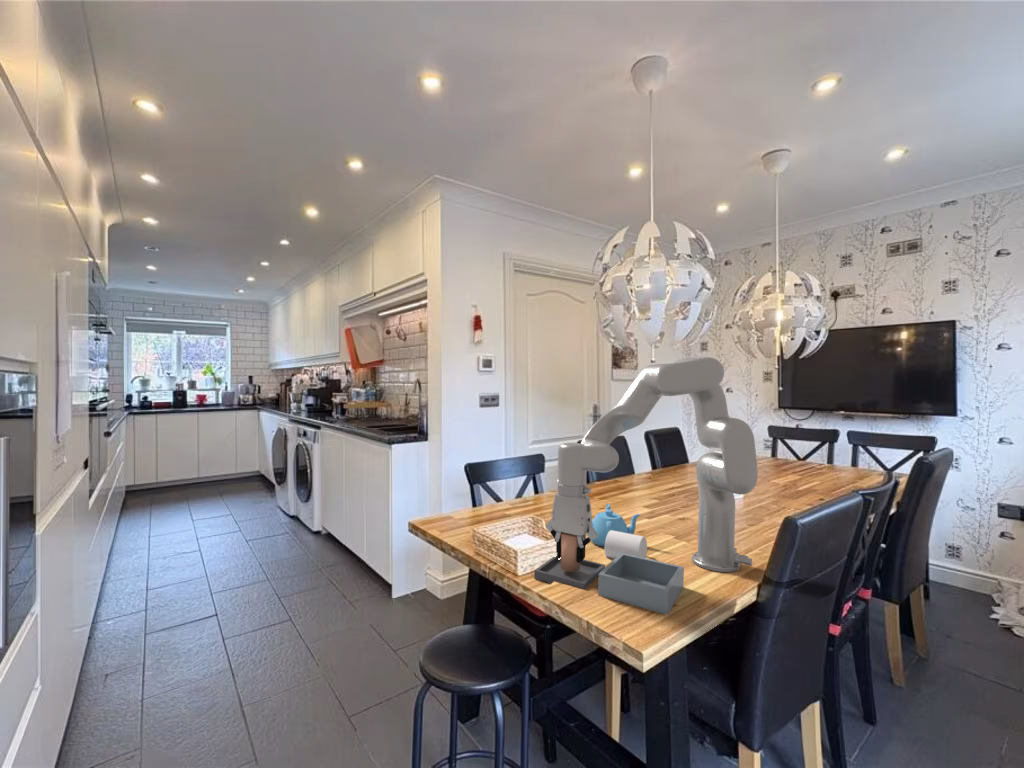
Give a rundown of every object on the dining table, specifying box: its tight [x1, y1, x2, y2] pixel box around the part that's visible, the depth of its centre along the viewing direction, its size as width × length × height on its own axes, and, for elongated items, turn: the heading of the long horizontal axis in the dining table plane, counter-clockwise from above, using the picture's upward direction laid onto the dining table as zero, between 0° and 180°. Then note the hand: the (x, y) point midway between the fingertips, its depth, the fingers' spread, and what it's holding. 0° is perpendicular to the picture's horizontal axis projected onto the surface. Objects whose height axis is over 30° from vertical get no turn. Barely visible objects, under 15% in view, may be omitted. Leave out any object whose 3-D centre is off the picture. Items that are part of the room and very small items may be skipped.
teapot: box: [587, 503, 642, 548], centre depth 146 cm, size 15×15×10 cm
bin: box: [597, 553, 685, 615], centre depth 110 cm, size 16×16×6 cm
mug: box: [604, 530, 648, 560], centre depth 132 cm, size 12×10×8 cm
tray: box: [533, 556, 606, 590], centre depth 120 cm, size 14×14×2 cm
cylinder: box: [561, 533, 580, 572], centre depth 120 cm, size 5×5×9 cm
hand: (570, 557), depth 120 cm, fingers closed on cylinder, 5 cm apart
